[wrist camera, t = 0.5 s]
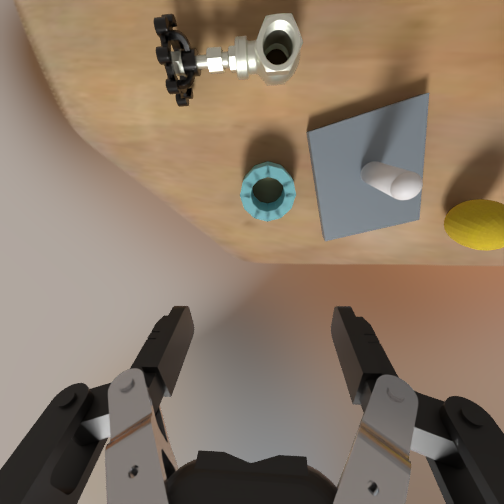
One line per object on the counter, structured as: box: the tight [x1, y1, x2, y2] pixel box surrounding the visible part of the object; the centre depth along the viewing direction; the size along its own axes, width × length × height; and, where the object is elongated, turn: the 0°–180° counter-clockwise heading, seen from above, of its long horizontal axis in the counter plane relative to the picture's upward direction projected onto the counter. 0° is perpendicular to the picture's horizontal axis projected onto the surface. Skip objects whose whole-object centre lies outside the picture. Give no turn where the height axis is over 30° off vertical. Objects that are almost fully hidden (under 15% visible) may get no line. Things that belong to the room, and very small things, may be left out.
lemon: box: [444, 199, 504, 250], centre depth 25 cm, size 6×6×8 cm
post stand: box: [307, 93, 429, 241], centre depth 23 cm, size 12×14×10 cm
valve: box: [154, 13, 303, 106], centre depth 20 cm, size 7×7×12 cm
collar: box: [240, 161, 296, 221], centre depth 27 cm, size 6×6×4 cm
